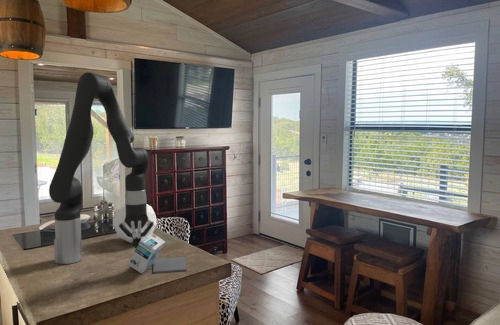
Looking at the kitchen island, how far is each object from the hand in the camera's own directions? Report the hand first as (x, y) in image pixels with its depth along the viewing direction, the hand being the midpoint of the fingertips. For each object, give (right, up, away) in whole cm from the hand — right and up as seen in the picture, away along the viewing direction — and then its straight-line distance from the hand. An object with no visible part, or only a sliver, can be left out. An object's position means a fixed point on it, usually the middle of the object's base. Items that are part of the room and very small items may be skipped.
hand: (137, 247), depth 146 cm
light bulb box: (+1, -7, +1) cm, 7 cm away
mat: (+11, -8, +5) cm, 14 cm away
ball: (-11, -5, +36) cm, 38 cm away
